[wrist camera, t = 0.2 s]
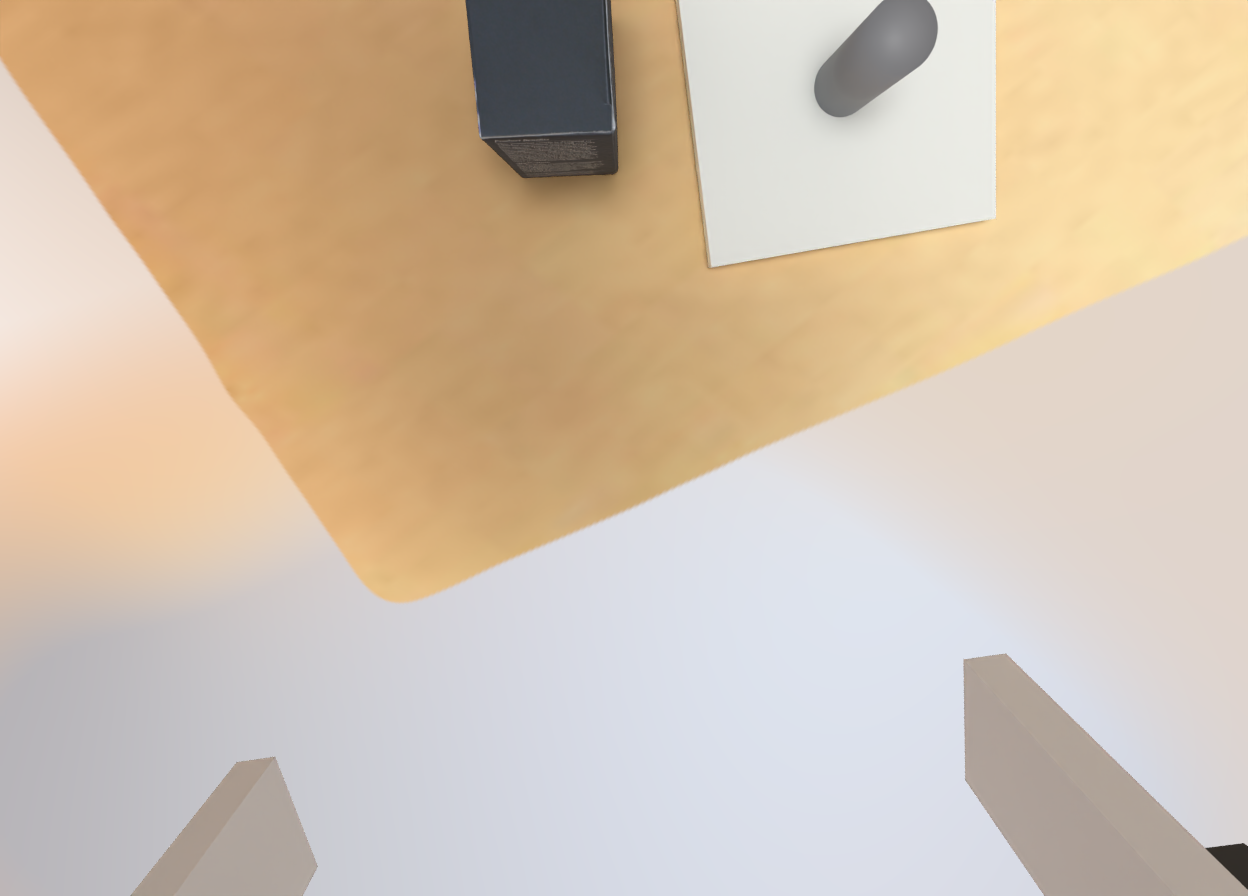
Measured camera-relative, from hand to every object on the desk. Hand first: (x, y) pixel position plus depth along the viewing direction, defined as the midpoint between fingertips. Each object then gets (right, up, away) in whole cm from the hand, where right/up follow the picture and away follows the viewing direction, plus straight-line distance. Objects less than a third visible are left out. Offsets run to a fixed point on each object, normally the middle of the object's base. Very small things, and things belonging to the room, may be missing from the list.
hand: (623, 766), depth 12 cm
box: (-3, +25, +22) cm, 34 cm away
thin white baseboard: (+12, +26, +22) cm, 35 cm away
